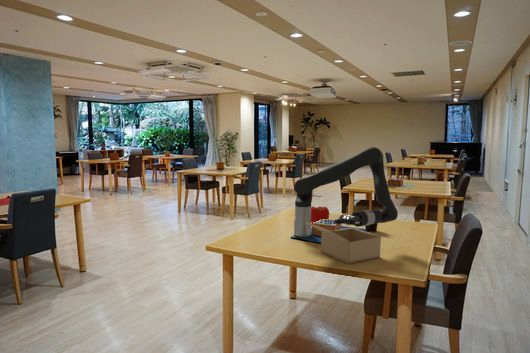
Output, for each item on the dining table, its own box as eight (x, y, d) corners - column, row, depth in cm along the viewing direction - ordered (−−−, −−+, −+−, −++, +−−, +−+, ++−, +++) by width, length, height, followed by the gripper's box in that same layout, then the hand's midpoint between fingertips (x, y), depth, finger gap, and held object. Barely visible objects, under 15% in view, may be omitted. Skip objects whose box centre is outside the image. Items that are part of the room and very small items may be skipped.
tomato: (311, 227, 245) (312, 208, 243) (305, 221, 259) (306, 204, 257) (332, 226, 247) (332, 208, 245) (325, 221, 261) (325, 204, 259)
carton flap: (323, 231, 194) (306, 221, 188) (348, 240, 178) (330, 230, 172) (322, 232, 194) (305, 223, 188) (348, 241, 178) (330, 232, 172)
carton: (351, 246, 206) (352, 227, 205) (381, 257, 188) (382, 237, 187) (320, 251, 196) (320, 232, 195) (348, 264, 178) (349, 243, 177)
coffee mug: (378, 232, 233) (379, 216, 231) (364, 232, 234) (364, 215, 233) (377, 228, 244) (378, 212, 243) (363, 227, 246) (363, 211, 244)
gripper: (354, 208, 199) (327, 211, 190) (373, 213, 187) (345, 216, 179) (353, 222, 200) (326, 226, 191) (372, 228, 188) (344, 232, 180)
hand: (335, 221), depth 185 cm, fingers closed
